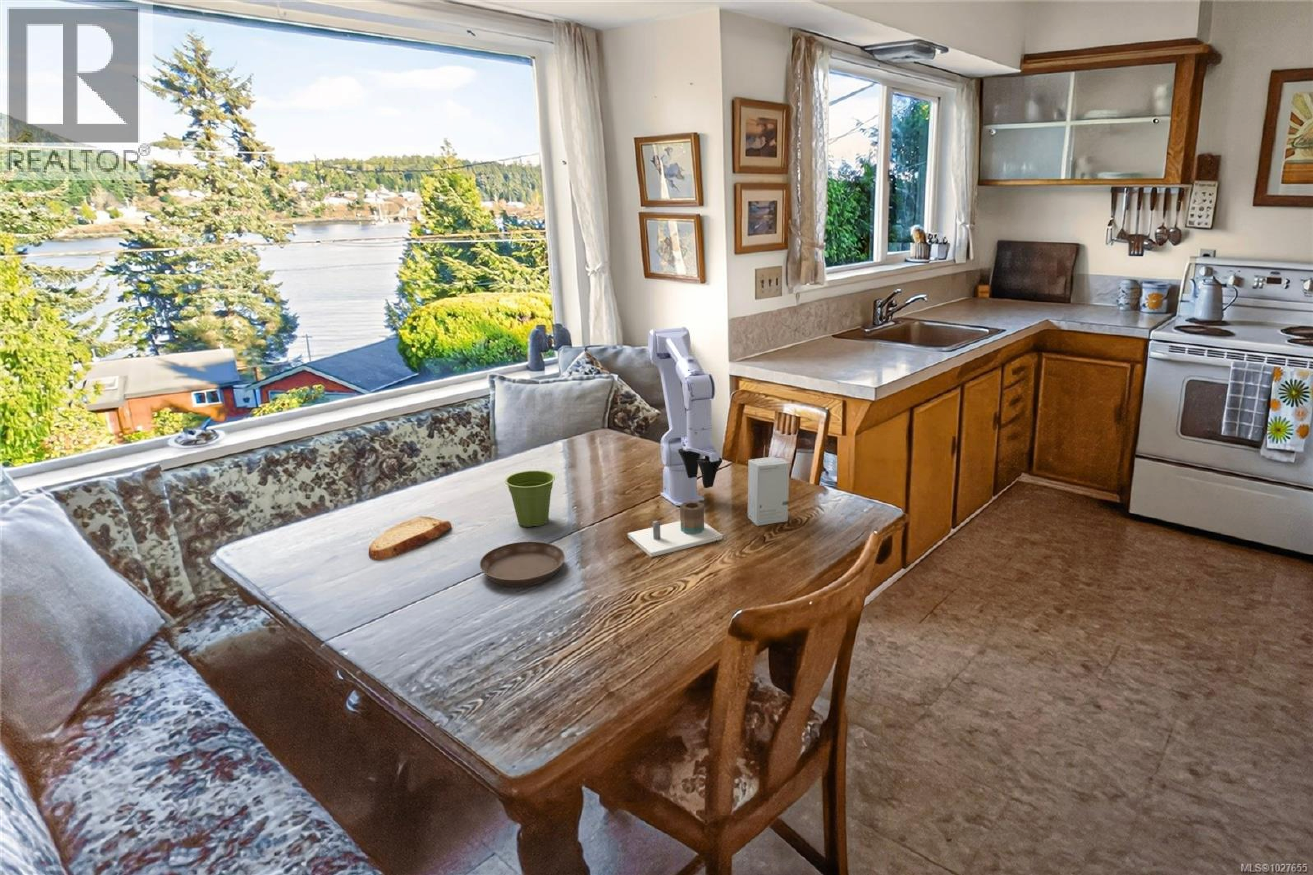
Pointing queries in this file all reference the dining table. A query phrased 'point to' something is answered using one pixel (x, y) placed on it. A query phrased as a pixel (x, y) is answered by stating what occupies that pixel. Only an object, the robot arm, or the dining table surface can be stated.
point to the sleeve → (692, 517)
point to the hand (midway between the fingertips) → (700, 482)
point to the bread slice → (407, 537)
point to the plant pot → (531, 496)
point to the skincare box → (768, 490)
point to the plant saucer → (522, 563)
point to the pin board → (670, 538)
